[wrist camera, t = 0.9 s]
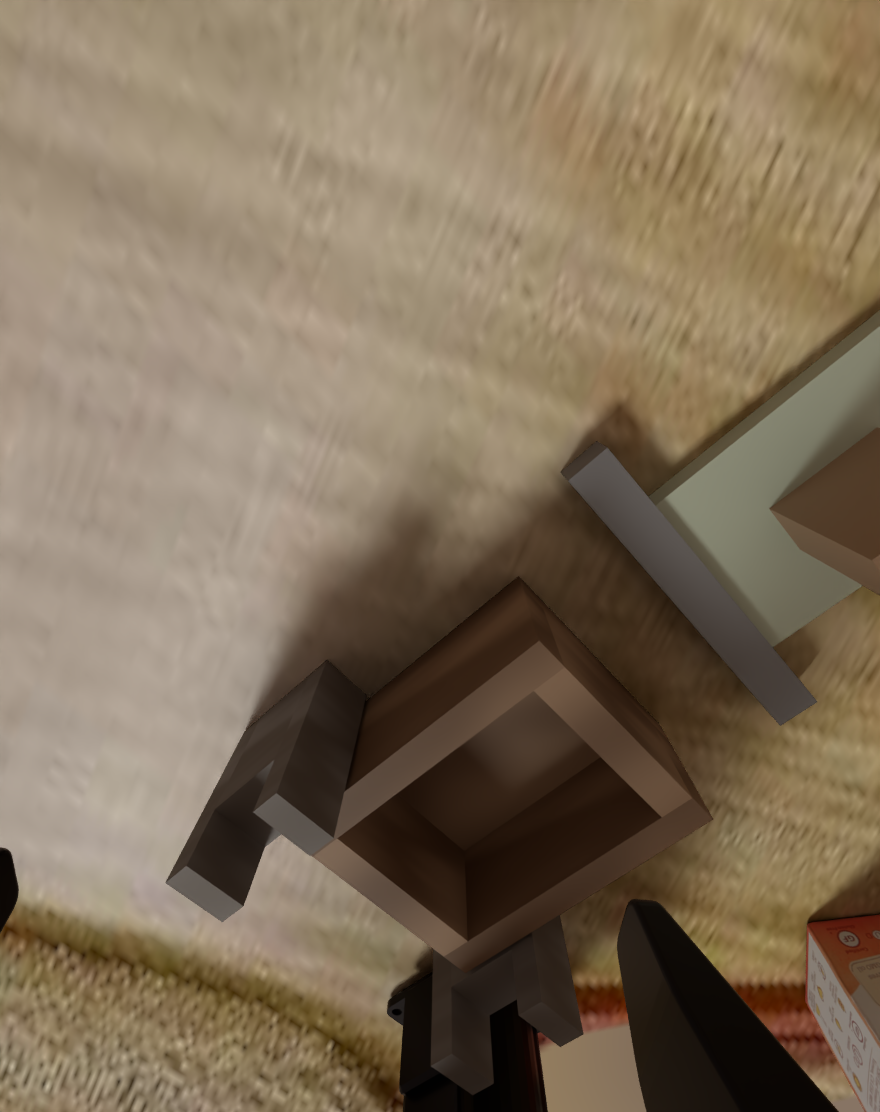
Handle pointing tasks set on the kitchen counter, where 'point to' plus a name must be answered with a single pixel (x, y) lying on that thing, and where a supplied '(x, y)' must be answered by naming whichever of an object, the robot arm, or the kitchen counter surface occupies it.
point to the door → (763, 517)
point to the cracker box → (848, 998)
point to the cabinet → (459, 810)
